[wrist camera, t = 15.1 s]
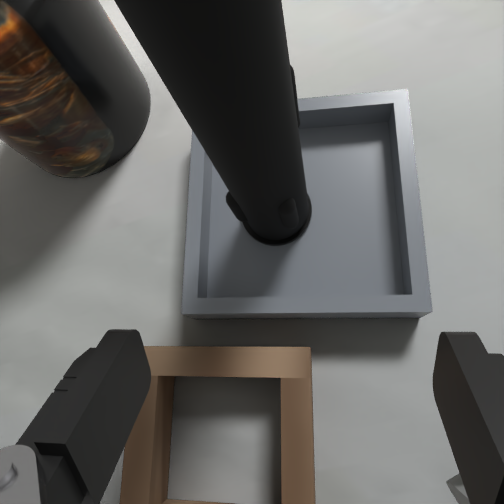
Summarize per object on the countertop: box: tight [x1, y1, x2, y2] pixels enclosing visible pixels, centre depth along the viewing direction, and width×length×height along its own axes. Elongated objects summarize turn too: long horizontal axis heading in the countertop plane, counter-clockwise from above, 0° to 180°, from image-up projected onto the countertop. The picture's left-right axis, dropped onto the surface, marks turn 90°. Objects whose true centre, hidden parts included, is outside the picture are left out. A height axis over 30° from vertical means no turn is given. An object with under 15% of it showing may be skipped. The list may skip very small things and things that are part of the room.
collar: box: [120, 346, 315, 504], centre depth 24 cm, size 11×11×3 cm
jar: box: [0, 0, 150, 178], centre depth 28 cm, size 12×12×15 cm
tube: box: [114, 0, 312, 246], centre depth 17 cm, size 25×6×6 cm
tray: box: [181, 89, 433, 319], centre depth 28 cm, size 15×15×3 cm
